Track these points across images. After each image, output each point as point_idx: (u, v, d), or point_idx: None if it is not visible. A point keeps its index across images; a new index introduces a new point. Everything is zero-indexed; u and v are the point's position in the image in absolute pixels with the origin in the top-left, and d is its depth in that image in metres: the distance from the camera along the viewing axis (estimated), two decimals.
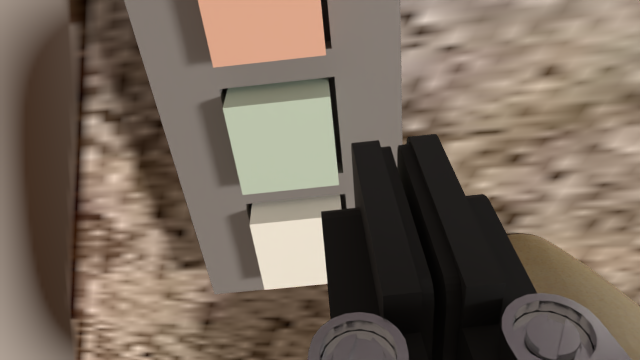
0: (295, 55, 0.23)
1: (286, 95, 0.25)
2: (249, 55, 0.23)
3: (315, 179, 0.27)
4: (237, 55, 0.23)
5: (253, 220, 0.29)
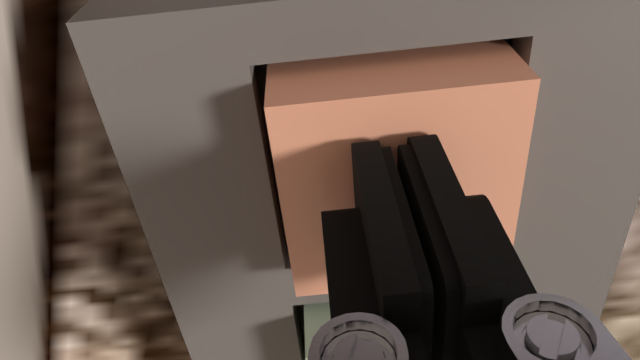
0: None
1: None
2: None
3: None
4: None
5: None
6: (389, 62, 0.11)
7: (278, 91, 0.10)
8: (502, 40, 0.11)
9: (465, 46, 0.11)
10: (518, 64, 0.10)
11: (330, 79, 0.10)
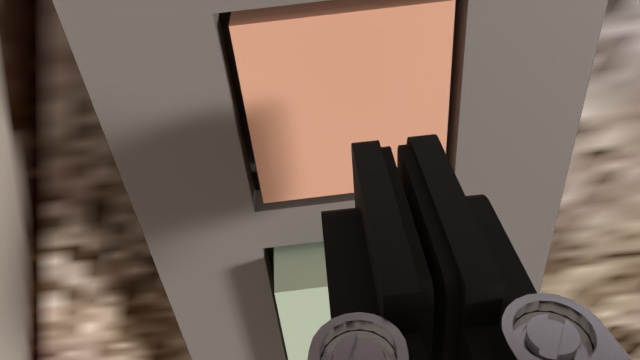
0: None
1: None
2: (322, 184, 0.14)
3: None
4: (303, 186, 0.14)
5: None
6: None
7: (240, 15, 0.12)
8: None
9: None
10: None
11: (285, 6, 0.12)
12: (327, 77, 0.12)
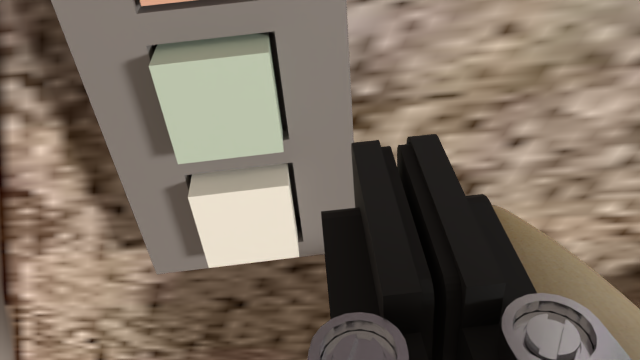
0: None
1: (220, 51, 0.22)
2: None
3: (257, 146, 0.25)
4: None
5: (192, 192, 0.26)
6: None
7: None
8: None
9: None
10: None
11: None
12: None
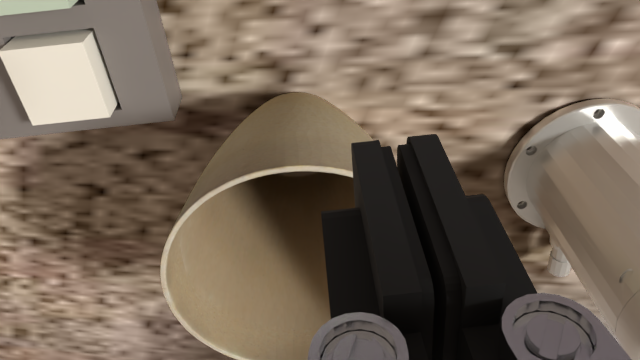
0: None
1: None
2: None
3: (46, 1, 0.29)
4: None
5: (3, 48, 0.31)
6: None
7: None
8: None
9: None
10: None
11: None
12: None
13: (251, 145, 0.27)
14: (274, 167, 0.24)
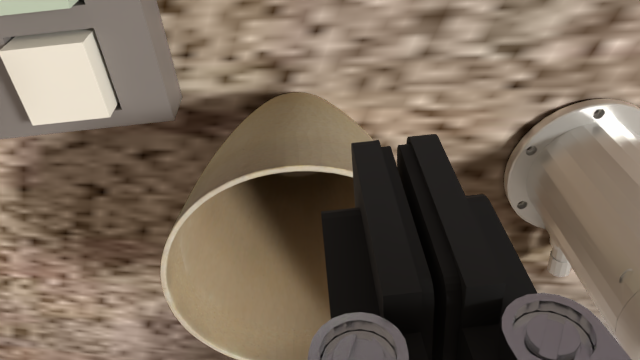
0: None
1: None
2: None
3: (46, 1, 0.29)
4: None
5: (3, 48, 0.31)
6: None
7: None
8: None
9: None
10: None
11: None
12: None
13: (251, 145, 0.27)
14: (274, 167, 0.24)
